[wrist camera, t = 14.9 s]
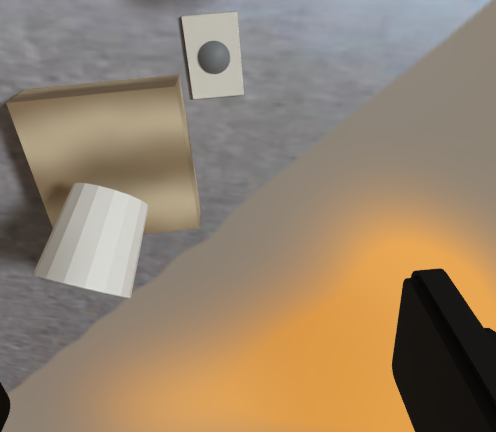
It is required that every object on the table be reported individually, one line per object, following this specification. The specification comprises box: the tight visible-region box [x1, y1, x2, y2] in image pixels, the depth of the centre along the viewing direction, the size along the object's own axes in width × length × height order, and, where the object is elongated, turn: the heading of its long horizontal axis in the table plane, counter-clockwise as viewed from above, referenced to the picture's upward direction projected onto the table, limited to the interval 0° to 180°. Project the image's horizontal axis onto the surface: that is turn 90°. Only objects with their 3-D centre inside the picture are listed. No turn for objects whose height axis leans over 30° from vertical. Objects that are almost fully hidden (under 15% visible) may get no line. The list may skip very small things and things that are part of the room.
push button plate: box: [182, 11, 244, 99], centre depth 34 cm, size 6×4×1 cm, turn 4°
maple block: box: [6, 75, 201, 234], centre depth 36 cm, size 12×12×4 cm
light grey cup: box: [33, 183, 148, 298], centre depth 33 cm, size 7×7×7 cm
